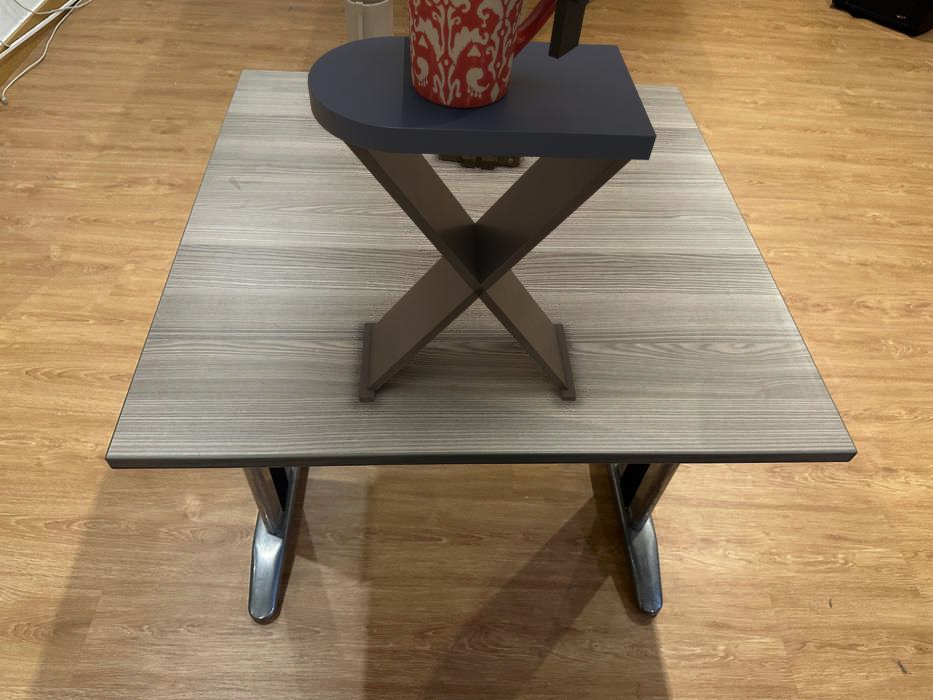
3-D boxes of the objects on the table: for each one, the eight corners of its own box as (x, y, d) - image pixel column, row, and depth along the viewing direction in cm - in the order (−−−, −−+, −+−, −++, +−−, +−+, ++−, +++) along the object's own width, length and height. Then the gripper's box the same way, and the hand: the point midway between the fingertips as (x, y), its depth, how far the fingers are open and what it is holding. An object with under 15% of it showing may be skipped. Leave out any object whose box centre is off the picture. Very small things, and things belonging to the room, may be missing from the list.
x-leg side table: (559, 320, 81) (629, 45, 55) (577, 413, 72) (670, 136, 46) (349, 319, 79) (317, 32, 52) (340, 414, 70) (296, 124, 43)
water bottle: (358, 104, 110) (347, -61, 91) (403, 111, 110) (401, -53, 91) (341, 132, 104) (325, -38, 85) (388, 140, 104) (382, -30, 85)
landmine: (433, 149, 98) (442, 100, 108) (433, 165, 100) (441, 114, 110) (525, 158, 98) (525, 107, 108) (523, 173, 100) (523, 122, 110)
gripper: (813, -443, 27) (664, 59, 43) (366, -468, 36) (381, -42, 52) (751, -462, 23) (612, 101, 39) (263, -485, 32) (314, -16, 48)
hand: (480, 20), depth 45 cm, fingers open, 13 cm apart
